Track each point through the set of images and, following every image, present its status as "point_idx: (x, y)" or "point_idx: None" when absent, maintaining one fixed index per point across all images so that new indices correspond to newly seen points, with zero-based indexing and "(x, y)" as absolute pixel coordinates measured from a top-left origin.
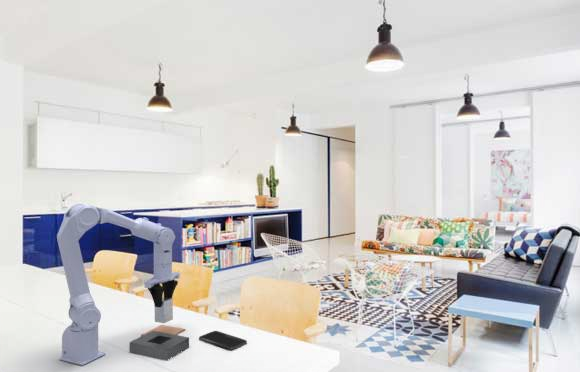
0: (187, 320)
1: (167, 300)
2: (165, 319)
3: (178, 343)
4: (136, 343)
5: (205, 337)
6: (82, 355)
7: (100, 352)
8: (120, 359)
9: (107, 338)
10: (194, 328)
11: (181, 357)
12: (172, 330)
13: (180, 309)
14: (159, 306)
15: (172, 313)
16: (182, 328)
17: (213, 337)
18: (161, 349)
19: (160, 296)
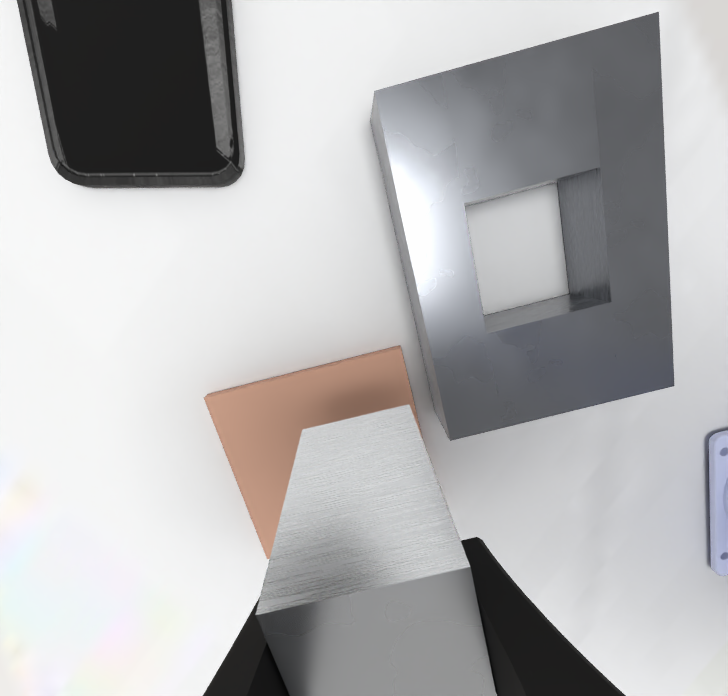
0: (96, 520)
1: (383, 580)
2: (400, 420)
3: (515, 52)
4: (669, 329)
5: (196, 136)
6: None
7: (725, 461)
8: (714, 319)
9: (556, 604)
10: (141, 374)
11: (515, 12)
12: (278, 436)
13: (27, 691)
14: (485, 549)
15: (298, 459)
16: (212, 416)
17: (150, 78)
18: (656, 81)
19: (595, 694)
